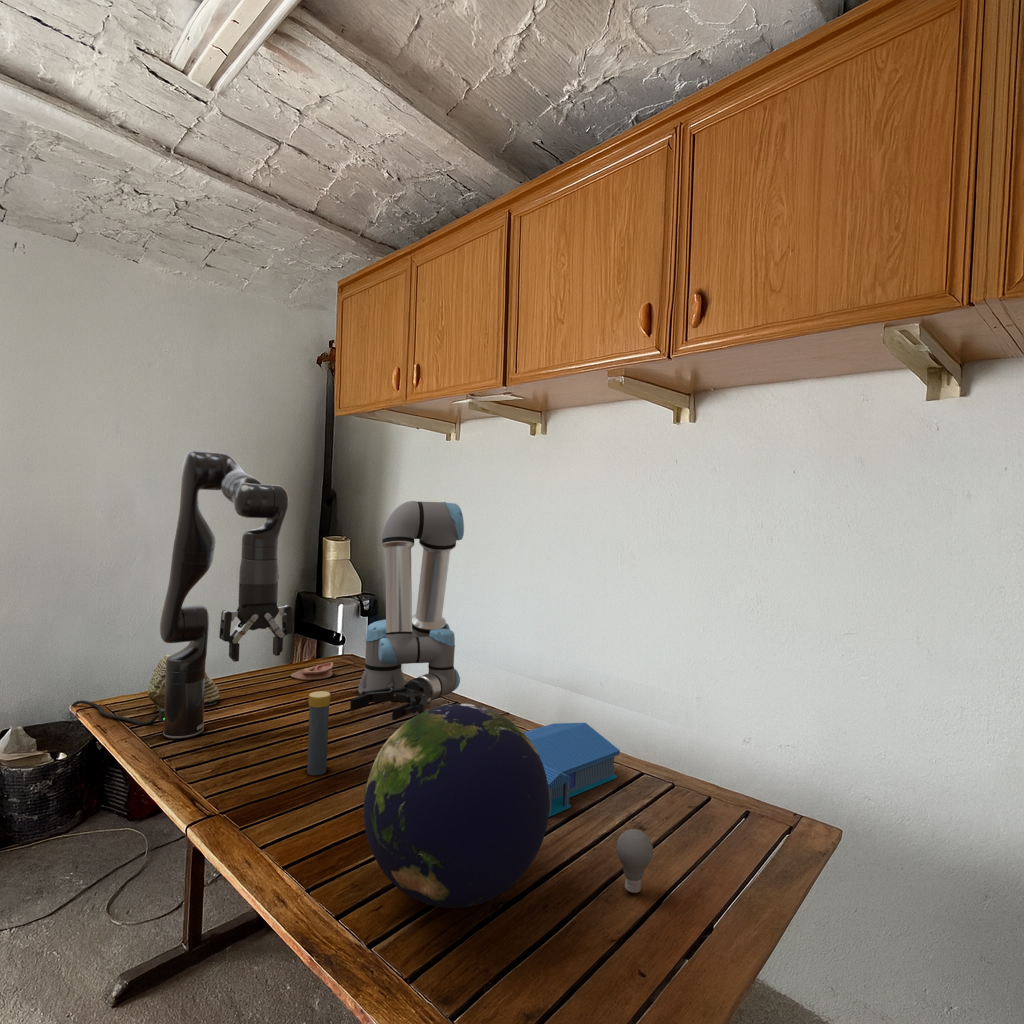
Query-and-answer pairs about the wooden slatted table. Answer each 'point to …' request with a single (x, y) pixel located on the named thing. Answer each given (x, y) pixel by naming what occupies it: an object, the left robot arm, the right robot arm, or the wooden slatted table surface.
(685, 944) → the wooden slatted table surface
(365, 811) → the globe
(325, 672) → the anatomical model
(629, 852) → the light bulb
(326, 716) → the grey bottle
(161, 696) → the fossil
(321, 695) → the lid
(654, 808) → the wooden slatted table surface
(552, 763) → the model building
